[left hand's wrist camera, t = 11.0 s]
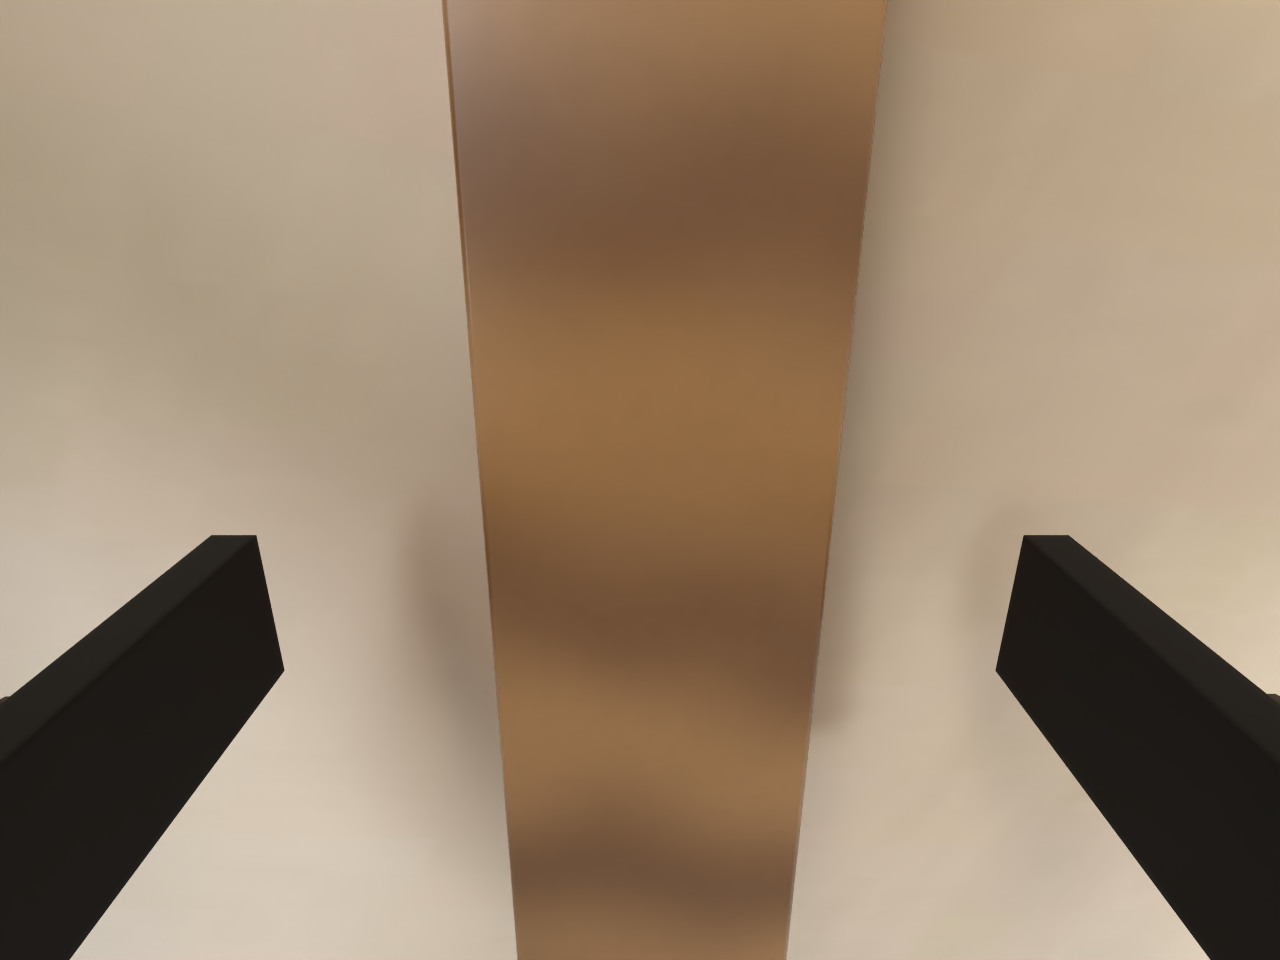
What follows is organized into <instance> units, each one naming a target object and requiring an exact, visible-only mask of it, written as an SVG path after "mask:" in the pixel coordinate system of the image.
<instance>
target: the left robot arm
mask: <svg viewBox="0 0 1280 960" xmlns="http://www.w3.org/2000/svg"><path fill="white" fill-rule="evenodd" d="M283 672H284V666H283V661H282V656H281V652H280V647H279V642H278V637H277V632H276V628H275V623H274V618H273V613H272V608H271V604H270V599H269V594H268V589H267V584H266V580H265V575H264V570H263V565H262V560H261V556H260V551H259V546H258V541H257V536H256V535H211V536H210V537H209V538H207V539H206V540H205V541H204V542H202V543H201V544H200V545H199V546H197V547H196V548H195V549H194V550H193V551H191V552H190V553H189V554H188V555H186V556H185V557H184V558H183V559H181V560H180V561H179V562H178V563H176V564H175V565H174V566H173V567H171V568H170V569H169V570H168V571H166V572H165V573H164V574H163V575H161V576H160V577H159V578H158V579H156V580H155V581H154V582H153V583H151V584H150V585H149V586H148V587H146V588H145V589H144V590H143V591H141V592H140V593H139V594H138V595H136V596H135V597H134V598H133V599H131V600H130V601H129V602H128V603H126V604H125V605H124V606H123V607H121V608H120V609H119V610H118V611H116V612H115V613H114V614H113V615H111V616H110V617H109V618H108V619H106V620H105V621H104V622H103V623H101V624H100V625H99V626H98V627H96V628H95V629H94V630H93V631H91V632H90V633H89V634H88V635H86V636H85V637H84V638H83V639H81V640H80V641H79V642H78V643H76V644H75V645H74V646H73V647H71V648H70V649H69V650H68V651H66V652H65V653H64V654H63V655H61V656H60V657H59V658H58V659H56V660H55V661H54V662H53V663H51V664H50V665H49V666H48V667H46V668H45V669H44V670H43V671H41V672H40V673H39V674H38V675H36V676H35V677H34V678H33V679H31V680H30V681H29V682H28V683H26V684H25V685H24V686H23V687H21V688H20V689H19V690H18V691H16V692H15V693H14V694H13V695H11V696H10V697H4V698H2V699H0V960H70V958H71V957H72V956H73V954H74V953H75V952H76V950H77V949H78V948H79V946H80V945H81V944H82V942H83V941H84V940H85V938H86V937H87V935H88V934H89V933H90V931H91V930H92V929H93V927H94V926H95V925H96V923H97V922H98V921H99V919H100V918H101V917H102V915H103V914H104V913H105V911H106V910H107V909H108V907H109V906H110V905H111V903H112V902H113V901H114V899H115V898H116V896H117V895H118V894H119V892H120V891H121V890H122V888H123V887H124V886H125V884H126V883H127V882H128V880H129V879H130V878H131V876H132V875H133V874H134V872H135V871H136V870H137V868H138V867H139V866H140V864H141V863H142V862H143V860H144V859H145V857H146V856H147V855H148V853H149V852H150V851H151V849H152V848H153V847H154V845H155V844H156V843H157V841H158V840H159V839H160V837H161V836H162V835H163V833H164V832H165V831H166V829H167V828H168V827H169V825H170V824H171V822H172V821H173V820H174V818H175V817H176V816H177V814H178V813H179V812H180V810H181V809H182V808H183V806H184V805H185V804H186V802H187V801H188V800H189V798H190V797H191V796H192V794H193V793H194V792H195V790H196V789H197V788H198V786H199V785H200V783H201V782H202V781H203V779H204V778H205V777H206V775H207V774H208V773H209V771H210V770H211V769H212V767H213V766H214V765H215V763H216V762H217V761H218V759H219V758H220V757H221V755H222V754H223V753H224V751H225V750H226V749H227V747H228V746H229V744H230V743H231V742H232V740H233V739H234V738H235V736H236V735H237V734H238V732H239V731H240V730H241V728H242V727H243V726H244V724H245V723H246V722H247V720H248V719H249V718H250V716H251V715H252V714H253V712H254V711H255V710H256V708H257V707H258V705H259V704H260V703H261V701H262V700H263V699H264V697H265V696H266V695H267V693H268V692H269V691H270V689H271V688H272V687H273V685H274V684H275V683H276V681H277V680H278V679H279V677H280V676H281V675H282V673H283ZM996 672H997V673H998V675H999V676H1000V677H1001V679H1002V680H1003V681H1004V683H1005V684H1006V685H1007V687H1008V688H1009V689H1010V691H1011V692H1012V693H1013V695H1014V696H1015V697H1016V699H1017V700H1018V701H1019V703H1020V704H1021V705H1022V707H1023V708H1024V710H1025V711H1026V712H1027V714H1028V715H1029V716H1030V718H1031V719H1032V720H1033V722H1034V723H1035V724H1036V726H1037V727H1038V728H1039V730H1040V731H1041V732H1042V734H1043V735H1044V736H1045V738H1046V739H1047V740H1048V742H1049V743H1050V744H1051V746H1052V747H1053V749H1054V750H1055V751H1056V753H1057V754H1058V755H1059V757H1060V758H1061V759H1062V761H1063V762H1064V763H1065V765H1066V766H1067V767H1068V769H1069V770H1070V771H1071V773H1072V774H1073V775H1074V777H1075V778H1076V779H1077V781H1078V782H1079V783H1080V785H1081V786H1082V788H1083V789H1084V790H1085V792H1086V793H1087V794H1088V796H1089V797H1090V798H1091V800H1092V801H1093V802H1094V804H1095V805H1096V806H1097V808H1098V809H1099V810H1100V812H1101V813H1102V814H1103V816H1104V817H1105V818H1106V820H1107V821H1108V823H1109V824H1110V825H1111V827H1112V828H1113V829H1114V831H1115V832H1116V833H1117V835H1118V836H1119V837H1120V839H1121V840H1122V841H1123V843H1124V844H1125V845H1126V847H1127V848H1128V849H1129V851H1130V852H1131V853H1132V855H1133V856H1134V857H1135V859H1136V860H1137V862H1138V863H1139V864H1140V866H1141V867H1142V868H1143V870H1144V871H1145V872H1146V874H1147V875H1148V876H1149V878H1150V879H1151V880H1152V882H1153V883H1154V884H1155V886H1156V887H1157V888H1158V890H1159V891H1160V892H1161V894H1162V895H1163V896H1164V898H1165V899H1166V901H1167V902H1168V903H1169V905H1170V906H1171V907H1172V909H1173V910H1174V911H1175V913H1176V914H1177V915H1178V917H1179V918H1180V919H1181V921H1182V922H1183V923H1184V925H1185V926H1186V927H1187V929H1188V930H1189V931H1190V933H1191V934H1192V936H1193V937H1194V938H1195V940H1196V941H1197V942H1198V944H1199V945H1200V946H1201V948H1202V949H1203V950H1204V952H1205V953H1206V954H1207V956H1208V957H1209V958H1210V960H1280V696H1278V695H1277V694H1266V693H1265V692H1264V691H1262V690H1261V689H1260V688H1259V687H1257V686H1256V685H1255V684H1254V683H1252V682H1251V681H1250V680H1249V679H1247V678H1246V677H1245V676H1244V675H1242V674H1241V673H1240V672H1239V671H1237V670H1236V669H1235V668H1234V667H1232V666H1231V665H1230V664H1229V663H1227V662H1226V661H1225V660H1224V659H1222V658H1221V657H1220V656H1219V655H1217V654H1216V653H1215V652H1214V651H1212V650H1211V649H1210V648H1209V647H1207V646H1206V645H1205V644H1204V643H1202V642H1201V641H1200V640H1199V639H1197V638H1196V637H1195V636H1194V635H1192V634H1191V633H1190V632H1189V631H1187V630H1186V629H1185V628H1184V627H1182V626H1181V625H1180V624H1179V623H1177V622H1176V621H1175V620H1174V619H1172V618H1171V617H1170V616H1169V615H1167V614H1166V613H1165V612H1164V611H1162V610H1161V609H1160V608H1159V607H1157V606H1156V605H1155V604H1154V603H1152V602H1151V601H1150V600H1149V599H1147V598H1146V597H1145V596H1144V595H1142V594H1141V593H1140V592H1139V591H1137V590H1136V589H1135V588H1134V587H1132V586H1131V585H1130V584H1129V583H1127V582H1126V581H1125V580H1124V579H1122V578H1121V577H1120V576H1119V575H1117V574H1116V573H1115V572H1114V571H1112V570H1111V569H1110V568H1109V567H1107V566H1106V565H1105V564H1104V563H1102V562H1101V561H1100V560H1099V559H1097V558H1096V557H1095V556H1094V555H1092V554H1091V553H1090V552H1089V551H1087V550H1086V549H1085V548H1084V547H1082V546H1081V545H1080V544H1079V543H1078V542H1076V541H1075V540H1074V539H1073V538H1071V537H1070V536H1069V535H1024V536H1023V541H1022V546H1021V551H1020V556H1019V560H1018V565H1017V570H1016V575H1015V580H1014V584H1013V589H1012V594H1011V599H1010V604H1009V608H1008V613H1007V618H1006V623H1005V628H1004V632H1003V637H1002V642H1001V647H1000V652H999V656H998V661H997V666H996Z"/></svg>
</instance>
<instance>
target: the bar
mask: <svg viewBox="0 0 1280 960" xmlns="http://www.w3.org/2000/svg"><path fill="white" fill-rule="evenodd" d="M442 9H443V22H444V35H445V47H446V60H447V72H448V85H449V98H450V110H451V123H452V136H453V148H454V161H455V174H456V186H457V199H458V212H459V224H460V237H461V250H462V262H463V275H464V288H465V300H466V313H467V326H468V338H469V351H470V364H471V376H472V389H473V402H474V414H475V427H476V440H477V452H478V465H479V478H480V490H481V503H482V516H483V528H484V541H485V554H486V566H487V579H488V591H489V604H490V617H491V629H492V642H493V655H494V667H495V680H496V693H497V705H498V718H499V731H500V743H501V756H502V769H503V781H504V794H505V807H506V819H507V832H508V845H509V857H510V870H511V883H512V895H513V908H514V921H515V933H516V946H517V959H518V960H786V957H787V948H788V938H789V929H790V919H791V910H792V900H793V891H794V881H795V872H796V862H797V853H798V843H799V834H800V824H801V815H802V805H803V796H804V786H805V777H806V767H807V758H808V748H809V739H810V730H811V720H812V711H813V701H814V692H815V682H816V673H817V663H818V654H819V644H820V635H821V625H822V616H823V606H824V597H825V587H826V578H827V568H828V559H829V549H830V540H831V530H832V521H833V511H834V502H835V492H836V483H837V473H838V464H839V454H840V445H841V435H842V426H843V416H844V407H845V398H846V388H847V379H848V369H849V360H850V350H851V341H852V331H853V322H854V312H855V303H856V293H857V284H858V274H859V265H860V255H861V246H862V236H863V227H864V217H865V208H866V198H867V189H868V179H869V170H870V160H871V151H872V141H873V132H874V122H875V113H876V103H877V94H878V84H879V75H880V66H881V56H882V47H883V37H884V28H885V18H886V9H887V0H442Z"/></svg>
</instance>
